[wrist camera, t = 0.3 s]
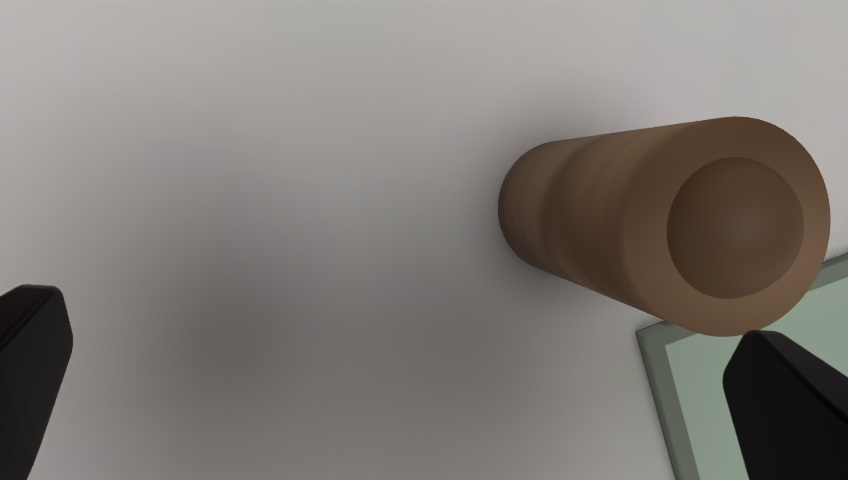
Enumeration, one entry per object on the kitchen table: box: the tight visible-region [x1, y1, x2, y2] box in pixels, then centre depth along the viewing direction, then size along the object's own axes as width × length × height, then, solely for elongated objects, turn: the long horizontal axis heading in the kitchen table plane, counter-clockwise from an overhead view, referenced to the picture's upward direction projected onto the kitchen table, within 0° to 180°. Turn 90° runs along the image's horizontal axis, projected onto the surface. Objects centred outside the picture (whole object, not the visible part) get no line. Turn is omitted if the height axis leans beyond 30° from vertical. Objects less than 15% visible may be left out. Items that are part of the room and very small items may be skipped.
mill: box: [498, 117, 830, 337], centre depth 18 cm, size 5×5×11 cm
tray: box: [636, 253, 848, 480], centre depth 26 cm, size 13×13×2 cm
